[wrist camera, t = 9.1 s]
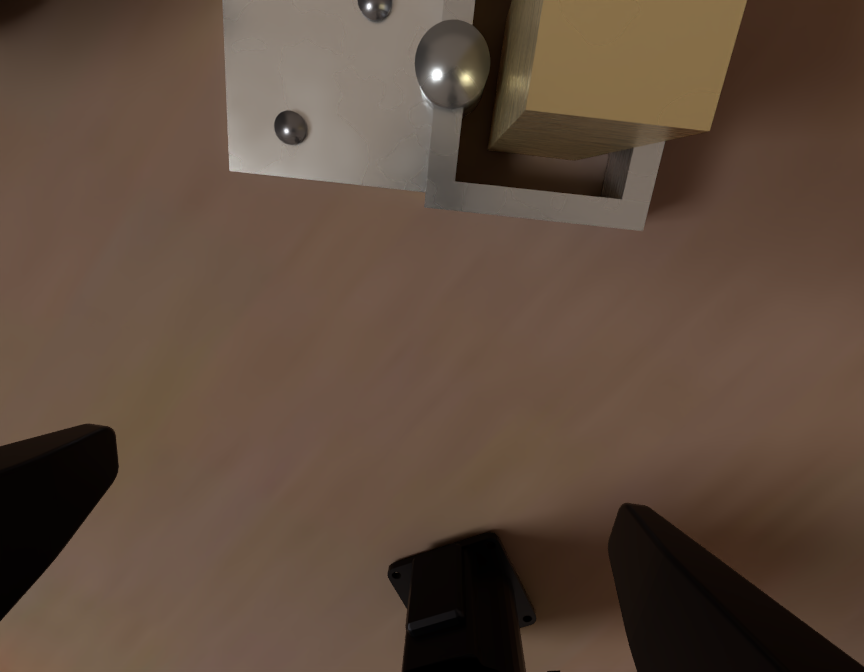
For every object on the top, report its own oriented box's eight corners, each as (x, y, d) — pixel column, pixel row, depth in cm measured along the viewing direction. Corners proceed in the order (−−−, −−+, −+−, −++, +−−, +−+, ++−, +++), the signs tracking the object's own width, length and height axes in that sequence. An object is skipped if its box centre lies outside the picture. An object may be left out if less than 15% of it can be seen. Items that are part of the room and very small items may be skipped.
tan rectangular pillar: (577, 160, 18) (717, 132, 8) (487, 150, 18) (525, 109, 8) (604, 30, 16) (808, -180, 7) (506, 19, 16) (576, -206, 7)
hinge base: (698, -34, 16) (757, -87, 13) (635, 227, 19) (670, 235, 16) (229, -82, 16) (176, -146, 13) (238, 184, 19) (197, 183, 16)
